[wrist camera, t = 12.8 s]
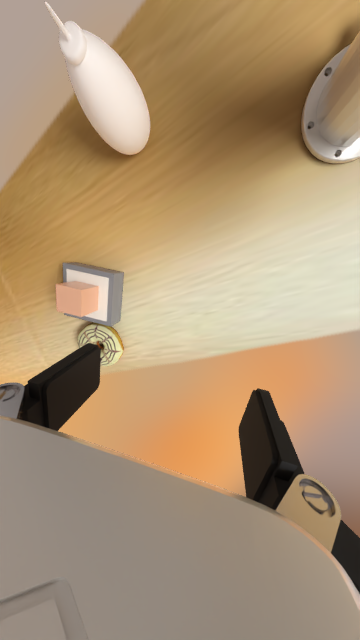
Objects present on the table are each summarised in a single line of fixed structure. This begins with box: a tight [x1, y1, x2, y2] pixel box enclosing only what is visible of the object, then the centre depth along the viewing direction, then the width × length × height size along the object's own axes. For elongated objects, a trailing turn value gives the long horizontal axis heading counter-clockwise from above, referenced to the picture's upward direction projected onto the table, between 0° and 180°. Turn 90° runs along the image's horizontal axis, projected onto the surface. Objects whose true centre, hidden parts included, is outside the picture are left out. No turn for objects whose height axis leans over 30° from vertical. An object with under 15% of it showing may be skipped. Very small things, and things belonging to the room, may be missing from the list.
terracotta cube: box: [56, 281, 99, 317], centre depth 35 cm, size 5×5×5 cm
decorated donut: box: [78, 323, 124, 366], centre depth 44 cm, size 10×11×4 cm
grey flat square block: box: [63, 263, 124, 327], centre depth 40 cm, size 11×11×4 cm
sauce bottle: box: [45, 2, 150, 155], centre depth 23 cm, size 8×8×18 cm
